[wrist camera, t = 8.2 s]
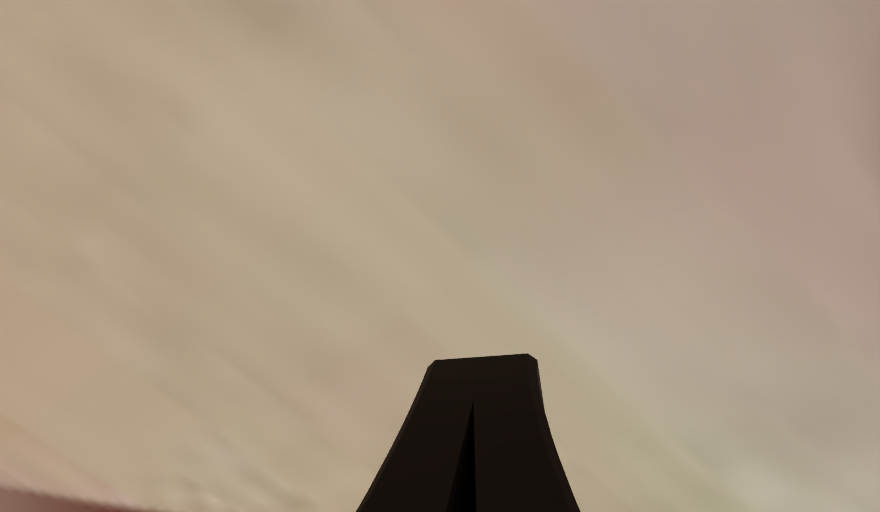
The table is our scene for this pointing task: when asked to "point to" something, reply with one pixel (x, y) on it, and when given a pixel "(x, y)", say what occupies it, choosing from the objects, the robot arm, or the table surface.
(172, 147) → the table surface
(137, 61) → the table surface
